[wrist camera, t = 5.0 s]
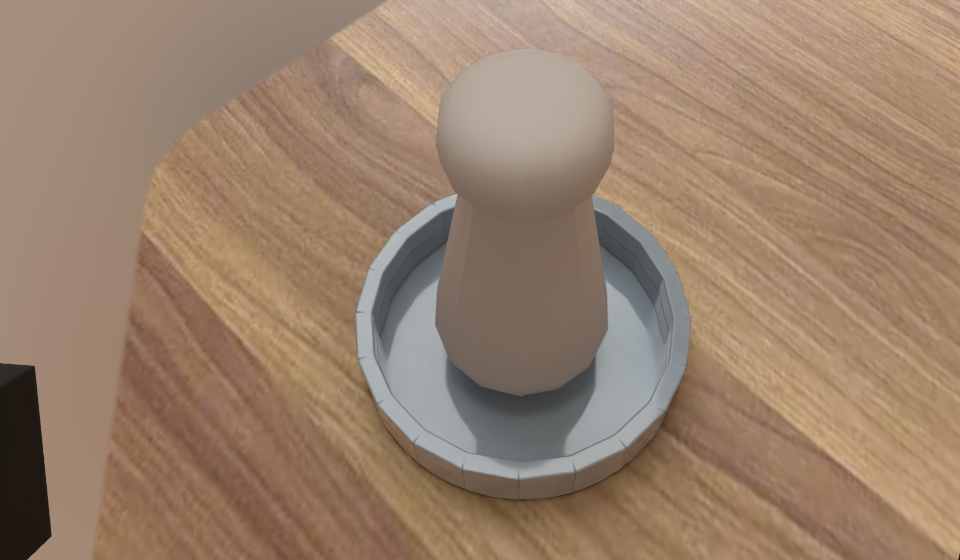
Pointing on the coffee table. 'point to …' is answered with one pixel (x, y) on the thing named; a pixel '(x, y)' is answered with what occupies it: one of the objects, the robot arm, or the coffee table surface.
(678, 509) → the coffee table surface
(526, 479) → the bowl
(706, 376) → the coffee table surface
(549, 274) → the salt shaker
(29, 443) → the robot arm
